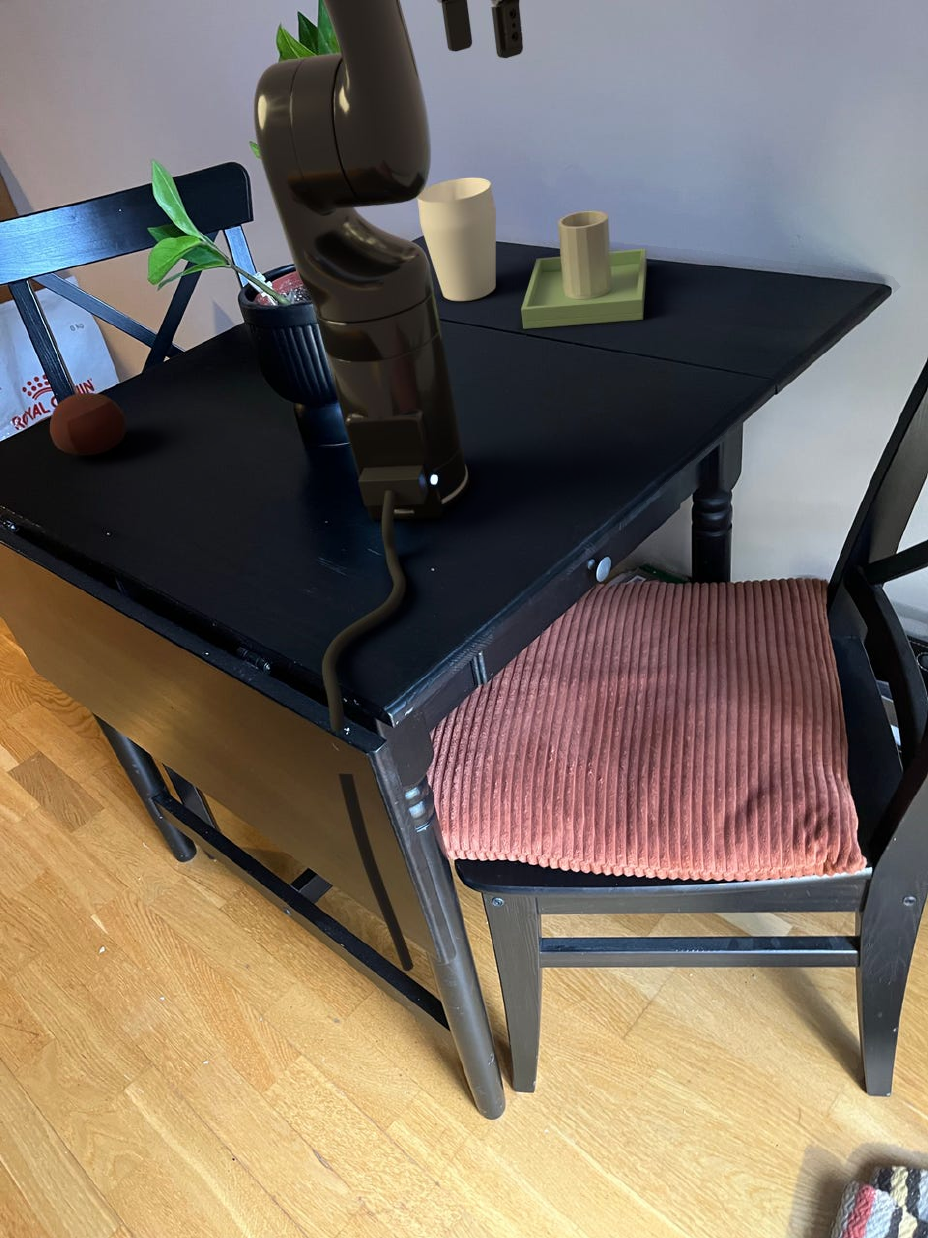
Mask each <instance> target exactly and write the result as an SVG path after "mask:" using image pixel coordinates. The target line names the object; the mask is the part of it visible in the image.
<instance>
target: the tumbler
mask: <svg viewBox="0 0 928 1238" xmlns="http://www.w3.org/2000/svg"><path fill="white" fill-rule="evenodd" d="M557 226H558V227H557V228H558V229H557V231H558V238H559V239H558V242H559V253H560V257H561V265H562V277H563V288H564V294H565V295H566V296H567V297H569V298H572V299H579V300H584V299H593V298H597V297H600V296H603V295H605V294H607V293H608V292H610V290H611V289H612V275H611V255H610V252H611V242H610V241H611V237H610V218H609V214H608V213H606V212H605V211H601V210H582V211H576V212H571V213H569V214H566V215H564V216H562V217H561V218H560V219H558V222H557Z"/></svg>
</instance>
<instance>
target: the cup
mask: <svg viewBox="0 0 928 1238" xmlns="http://www.w3.org/2000/svg"><path fill="white" fill-rule="evenodd" d="M493 195H494V194H493V189H492V183H491V182H490V180H488V179H486V178H482V177H461V178H453V179H449V180H444V181H440V182H437V183H434V184H431V185H429V186H426V187H425V188H424V189H423V191H422V192H421V194H420V195H419V196H417V197H416V199H417V205H418V214H419V223H420V227H421V231H422V235H423V237H424V240H425V243H426V246H427V249H428V252H429V255H430V259H431V262H432V265H433V268H434V271H435V274H436V277H437V281H438V284H439V287H440V291H441V293H442V296H443V297H444V298H445V299H447V300H449V301H452V302H469V301H474V300H478V299H481V298H484V297H486V296H487V295H489V294H491V293H492V292H493V291H494V290H495V289H496V285H497V284H496V273H497V272H496V267H497V266H496V263H497V261H496V259H497V258H496V255H497V251H496V250H497V249H496V248H497V247H496V245H497V243H496V241H497V239H496V238H497V235H496V234H497V233H496V232H497V231H496V228H497V227H496V226H497V212H496V211H497V210H496V204H495V200H494V196H493Z"/></svg>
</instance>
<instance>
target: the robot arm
mask: <svg viewBox="0 0 928 1238" xmlns="http://www.w3.org/2000/svg"><path fill="white" fill-rule="evenodd" d="M436 1H437V3H439V4H441V10H442V16H443V17H442V18H443V23H444V31H445V37H446V38H445V39H446V43H447V44H446V45H447V49H448V51H450V52H455V53H456V52H460V51H463V50H467V49H470V48H471V47H472V45H473V38H472V30H471V22H470V21H471V20H470V14H469V5H468V0H436ZM490 1H491V3H492V5H493V6H492V7H491V16H492V25H493V34H494V41H495V50H496V51H495V53H496V55H497V57H498V58H501V59H508V58H512V57H515V56H519V55H521V54H522V52H523V50H524V44H523V43H524V42H523V41H524V40H523V32H522V19H521V10H520V1H521V0H490ZM322 2H323V4H324V8H325V9H326V13H327V15H328V17H329V21H330V23H331V26H332V29H333V32H334V35H335V38H336V41H337V45H338V49H339V51H340V52H335V53H326V54H319V55H311V56H305V57H304V56H303V57H298V58H297V57H296V58H290V59H285V60H281V61H278V62H274V63H273V64H271V65H270V66H268V67H267V68H265V70H264V71H263V72H262V74H261V76H260V77H259V79H258V82H257V84H256V89H255V93H254V97H253V98H254V100H253V123H254V131H255V139H256V144H257V148H258V152H259V156H260V162H261V165H262V168H263V171H264V175H265V178H266V181H267V185H268V188H269V192H270V195H271V197H272V200H273V203H274V205H275V209H276V212H277V215H278V218H279V220H280V221H279V222H280V224H281V227H282V231H283V234H284V236H285V239H286V242H287V245H288V249H289V252H290V256H291V259H292V262H293V266H294V268H295V271H296V273H297V276H298V278H299V279H300V282H301V283H302V285H303V287H304V288H305V290H306V291H307V293H308V295H309V297H310V300H311V304H312V307H313V311H314V315H315V319H316V322H317V326H318V330H319V334H320V336H321V341H322V345H323V349H324V353H325V356H326V361H327V364H328V369H329V372H330V375H331V379H332V383H333V386H334V390H335V394H336V395H335V396H336V398H337V402H338V405H339V409H340V413H341V417H342V420H343V424H344V428H345V432H346V436H347V440H348V443H349V447H350V450H351V454H352V458H353V462H354V465H355V468H356V472H357V477H358V481H357V482H358V486H359V490H360V493H361V497H362V500H363V501H362V502H363V504H364V506H365V507H366V508H367V511H368V515H369V518H370V520H372V521H377V520H381V535H382V542H383V546H384V553H385V559H386V564H387V567H388V571H389V574H390V576H391V579H392V582H393V588H392V590H391V593H390V594H389V596H388V597H387V599H386V601H385V602H383V604H381V605H380V606H379V607H378V608H376V609H374V610H373V611H371V612H369V613H368V614H366V615H365V616H363V617H362V618H360V619H358V620H356V621H355V622H353V623H352V624H350V625H349V626H347V627H346V628H344V629H343V630H342V631H341V632H340V633H339V634H338V635H337V636H336V637H335V638H334V639H333V640H332V641H331V643H330V644H329V645H328V647H327V649H326V651H325V653H324V655H323V658H322V663H321V674H322V675H321V676H322V681H323V685H324V688H325V692H326V697H327V702H328V711H329V719H330V720H329V721H330V728H331V730H332V731H333V732H340V731H342V730H343V729H344V728H345V725H346V724H345V723H346V722H345V713H344V703H343V697H342V692H341V688H340V687H341V686H340V684H339V680H338V676H337V671H336V664H337V661H338V658H339V656H340V655H341V652H342V651H343V650H344V648H345V647H346V645H348V643H350V642H351V641H352V640H354V639H355V638H356V637H357V636H359V635H361V634H362V633H364V632H366V631H368V630H369V629H370V628H372V627H374V626H376V625H377V624H379V623H381V622H382V621H383V620H385V619H386V618H387V617H388V616H390V615H391V614H392V613H393V612H394V611H395V610H396V609H397V608H398V607H399V605H400V604H401V602H402V601H403V598H404V596H405V593H406V587H407V583H406V577H405V574H404V571H403V570H402V567H401V564H400V559H399V556H398V550H397V549H398V548H397V543H396V537H395V529H394V528H395V525H394V521H395V520H408V519H409V520H410V519H438V518H440V517H442V514H443V512H444V510H446V509H447V508H449V507H451V506H452V505H454V504H455V503H457V502H458V501H459V500H460V499H461V498H462V497H463V496H464V495H465V493H466V491H467V490H468V488H469V486H470V485H469V484H470V478H469V472H468V467H467V465H466V462H465V461H466V460H465V456H464V449H463V445H462V439H461V435H460V429H459V423H458V418H457V412H456V406H455V400H454V394H453V389H452V384H451V379H450V372H449V367H448V361H447V356H446V350H445V345H444V339H443V333H442V327H441V321H440V316H439V315H440V314H439V310H438V305H437V299H436V298H437V297H436V292H435V287H434V282H433V275H432V269H431V265H430V260H429V259H428V255H427V254H426V252H425V251H424V249H423V248H421V246H420V245H418V244H417V243H415V242H413V241H411V240H409V239H406V238H403V237H400V236H397V235H394V234H393V233H390V232H388V231H385V230H383V229H381V228H379V227H377V226H376V225H374V224H373V223H371V222H370V221H368V220H367V219H366V218H365V217H364V216H362V214H360V213H359V212H358V210H357V209H356V208H363V207H374V206H375V207H376V206H379V207H380V206H388V205H396V204H402V203H407V202H411V201H413V200H415V199H417V196H419V195H420V194H421V192H422V191H423V189H425V188H426V187H427V182H428V180H429V176H430V171H431V164H432V143H431V130H430V123H429V116H428V109H427V105H426V100H425V95H424V89H423V86H422V81H421V78H420V73H419V69H418V64H417V62H416V56H415V53H414V50H413V45H412V42H411V37H410V33H409V31H408V27H407V26H408V25H407V23H406V19H405V15H404V12H403V7H402V4H401V0H322ZM338 778H339V782H340V786H341V791H342V794H343V798H344V802H345V806H346V810H347V814H348V818H349V821H350V824H351V829H352V832H353V835H354V839H355V842H356V847H357V849H358V852H359V856H360V858H361V861H362V864H363V867H364V870H365V873H366V875H367V878H368V881H369V883H370V886H371V889H372V891H373V895H374V897H375V899H376V902H377V904H378V907H379V909H380V912H381V914H382V917H383V919H384V922H385V924H386V927H387V929H388V932H389V934H390V937H391V940H392V943H393V945H394V947H395V951H396V953H397V956H398V958H399V961H400V964H401V967H402V970H403V971H404V972H411V970H413V968H414V963H413V960H412V957H411V954H410V951H409V948H408V946H407V942H406V940H405V937H404V934H403V932H402V928H401V926H400V924H399V921H398V919H397V916H396V913H395V910H394V908H393V905H392V903H391V899H390V898H389V894H388V891H387V890H386V887H385V883H384V880H383V878H382V876H381V872H380V870H379V866H378V865H377V861H376V858H375V855H374V852H373V849H372V845H371V842H370V839H369V835H368V832H367V828H366V824H365V820H364V817H363V816H364V815H363V813H362V808H361V804H360V800H359V797H358V792H357V789H356V783H355V779H354V775H353V773H338Z"/></svg>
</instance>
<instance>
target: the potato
mask: <svg viewBox="0 0 928 1238" xmlns="http://www.w3.org/2000/svg"><path fill="white" fill-rule="evenodd" d="M126 422H127V421H126V417H125V415H124V412H123V410H122V409H121V408H120V406H119V404H117V402H116V401H114V400H112V399H111V398H109V397H108V396H106V395H104V394H99V393H94V392H82V393H77V394H72V395H69V396H67V397H65V398H64V399H63V400H61V401H60V402H58V404H57V405H56V406H55V408H54V409H53V411H52V414H51V417H50V421H49V433H50V437H51V439H52V441H53V442H52V443H53V444H54V445H55V447H56V448H57V449H58V450H60V451H62V452H64V453H67V454H70V455H75V456H84V457H85V456H96V455H99V454H101V453H106V452H109V450H111V449H113V448H114V447H117V445H119V443H121V442H122V440H123V439H124V438H125V436H126V432H127V423H126Z"/></svg>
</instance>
